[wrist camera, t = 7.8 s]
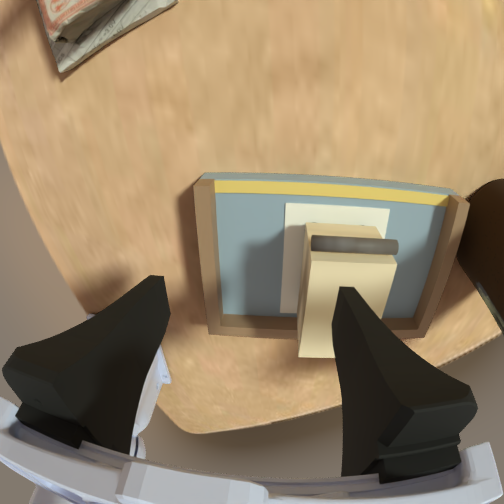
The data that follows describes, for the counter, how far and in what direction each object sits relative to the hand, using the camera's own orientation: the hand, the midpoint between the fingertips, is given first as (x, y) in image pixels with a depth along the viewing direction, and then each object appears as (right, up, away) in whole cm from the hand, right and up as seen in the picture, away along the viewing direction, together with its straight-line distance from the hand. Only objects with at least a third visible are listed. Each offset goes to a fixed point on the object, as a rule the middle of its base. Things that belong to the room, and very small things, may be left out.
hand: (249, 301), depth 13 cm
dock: (+6, +2, +10) cm, 12 cm away
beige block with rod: (+6, +1, +9) cm, 11 cm away
